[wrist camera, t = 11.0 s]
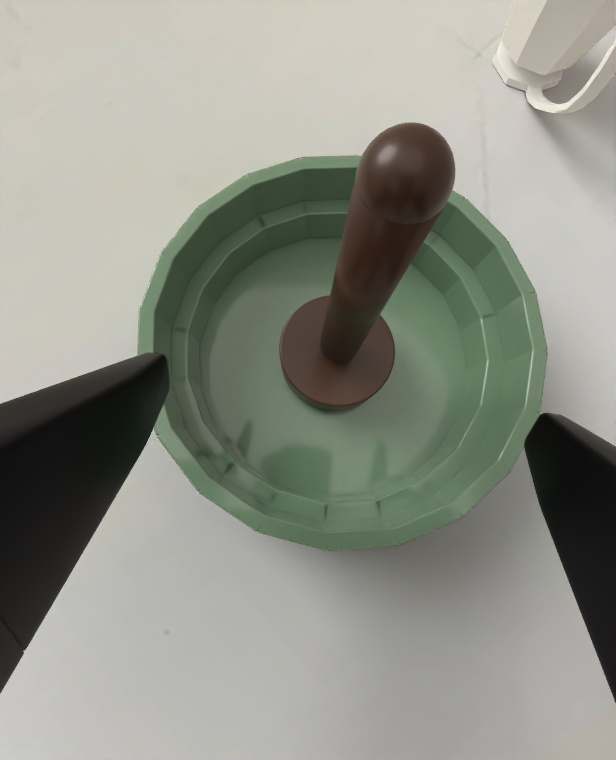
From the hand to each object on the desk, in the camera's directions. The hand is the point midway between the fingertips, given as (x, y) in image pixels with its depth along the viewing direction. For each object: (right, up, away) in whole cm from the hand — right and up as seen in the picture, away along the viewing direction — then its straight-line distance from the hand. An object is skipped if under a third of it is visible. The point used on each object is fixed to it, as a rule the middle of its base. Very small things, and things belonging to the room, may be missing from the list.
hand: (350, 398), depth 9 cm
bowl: (0, +1, +9) cm, 9 cm away
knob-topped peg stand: (0, +1, +9) cm, 9 cm away
